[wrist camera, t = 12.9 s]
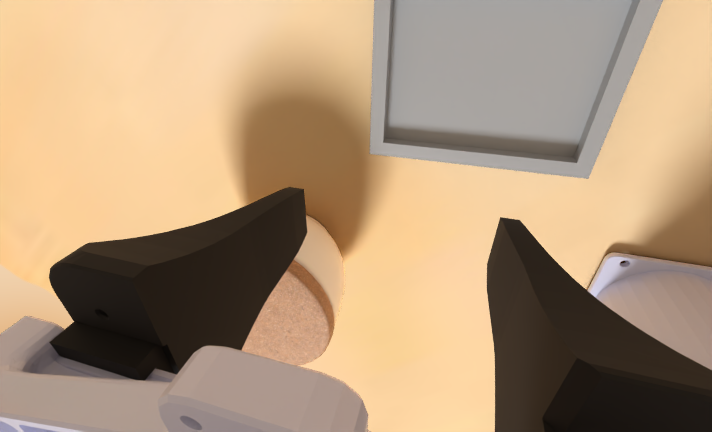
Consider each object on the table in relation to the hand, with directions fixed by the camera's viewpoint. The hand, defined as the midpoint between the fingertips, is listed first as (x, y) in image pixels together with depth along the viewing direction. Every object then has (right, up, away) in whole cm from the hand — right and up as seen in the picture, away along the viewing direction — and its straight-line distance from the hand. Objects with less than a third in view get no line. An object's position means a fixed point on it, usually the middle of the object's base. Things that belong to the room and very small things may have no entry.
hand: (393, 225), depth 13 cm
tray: (+6, +8, +5) cm, 11 cm away
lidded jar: (-6, -2, +16) cm, 17 cm away
